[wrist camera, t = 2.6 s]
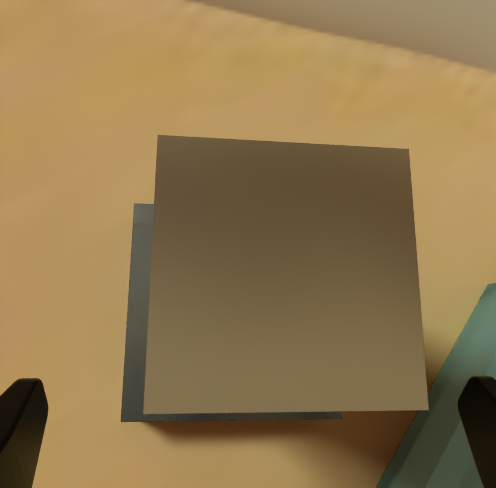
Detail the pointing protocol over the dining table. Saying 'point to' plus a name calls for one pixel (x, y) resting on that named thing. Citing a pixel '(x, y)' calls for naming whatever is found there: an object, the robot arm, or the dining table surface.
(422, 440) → the tray
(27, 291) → the dining table surface
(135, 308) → the grey square bin
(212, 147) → the plate
